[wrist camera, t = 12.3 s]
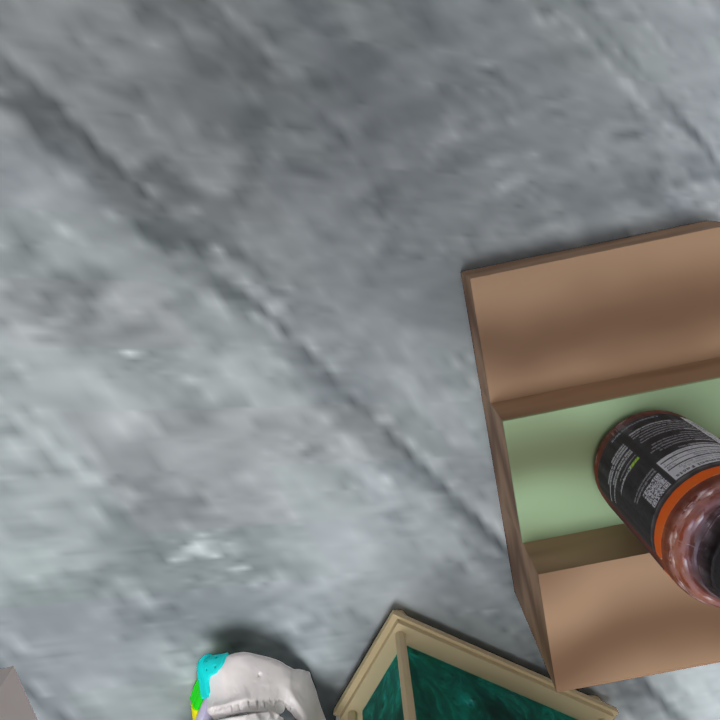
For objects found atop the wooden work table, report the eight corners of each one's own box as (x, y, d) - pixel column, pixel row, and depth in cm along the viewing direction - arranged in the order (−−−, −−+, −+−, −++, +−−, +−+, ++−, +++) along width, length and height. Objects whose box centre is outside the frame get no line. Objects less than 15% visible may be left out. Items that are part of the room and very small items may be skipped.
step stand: (460, 271, 39) (494, 297, 30) (770, 207, 38) (896, 213, 29) (514, 591, 44) (556, 692, 35) (787, 538, 43) (899, 628, 34)
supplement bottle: (699, 510, 36) (855, 653, 25) (587, 515, 36) (693, 660, 25) (709, 402, 34) (879, 504, 23) (592, 408, 34) (707, 512, 23)
